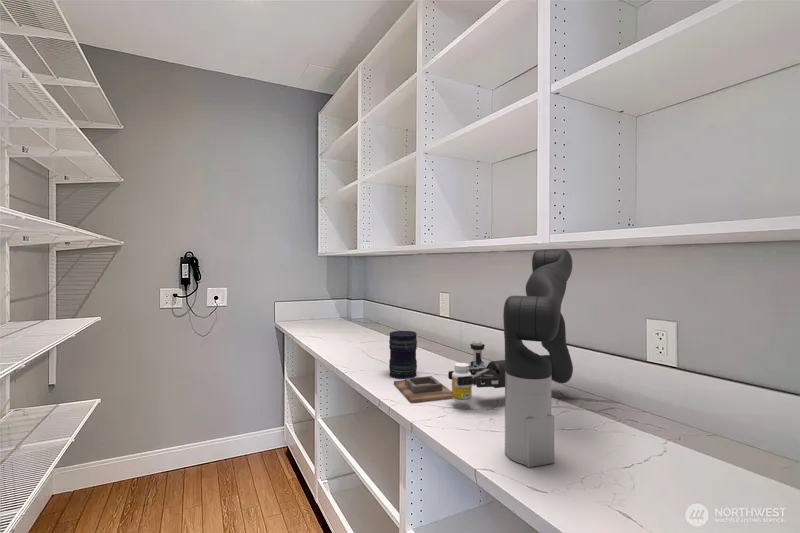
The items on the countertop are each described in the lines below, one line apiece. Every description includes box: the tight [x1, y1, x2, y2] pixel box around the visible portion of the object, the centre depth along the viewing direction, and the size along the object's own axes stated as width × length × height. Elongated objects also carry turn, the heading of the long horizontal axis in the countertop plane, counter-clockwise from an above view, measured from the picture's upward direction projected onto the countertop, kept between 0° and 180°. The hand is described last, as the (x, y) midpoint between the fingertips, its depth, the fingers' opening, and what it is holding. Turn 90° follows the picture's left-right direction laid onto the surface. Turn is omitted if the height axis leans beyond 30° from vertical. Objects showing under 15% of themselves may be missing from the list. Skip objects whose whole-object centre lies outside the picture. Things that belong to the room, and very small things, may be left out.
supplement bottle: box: [451, 362, 473, 403], centre depth 109 cm, size 5×5×10 cm
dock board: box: [393, 375, 453, 404], centre depth 121 cm, size 18×14×3 cm
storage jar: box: [388, 330, 418, 380], centre depth 138 cm, size 10×10×15 cm
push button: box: [470, 340, 487, 368], centre depth 147 cm, size 7×5×10 cm
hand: (453, 378), depth 108 cm, fingers closed on supplement bottle, 5 cm apart
